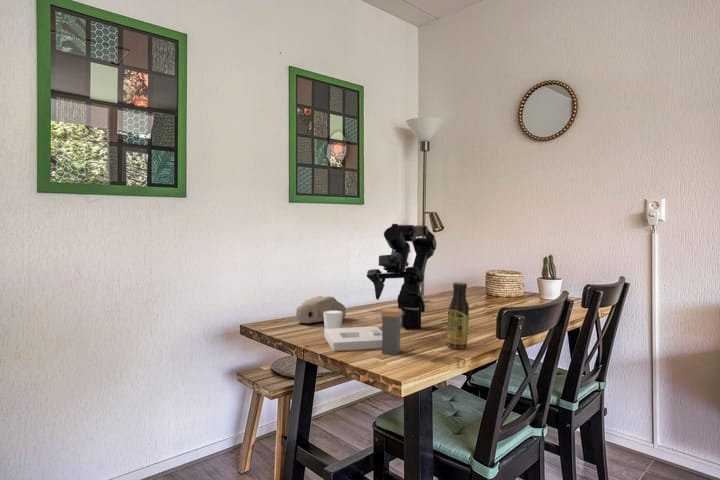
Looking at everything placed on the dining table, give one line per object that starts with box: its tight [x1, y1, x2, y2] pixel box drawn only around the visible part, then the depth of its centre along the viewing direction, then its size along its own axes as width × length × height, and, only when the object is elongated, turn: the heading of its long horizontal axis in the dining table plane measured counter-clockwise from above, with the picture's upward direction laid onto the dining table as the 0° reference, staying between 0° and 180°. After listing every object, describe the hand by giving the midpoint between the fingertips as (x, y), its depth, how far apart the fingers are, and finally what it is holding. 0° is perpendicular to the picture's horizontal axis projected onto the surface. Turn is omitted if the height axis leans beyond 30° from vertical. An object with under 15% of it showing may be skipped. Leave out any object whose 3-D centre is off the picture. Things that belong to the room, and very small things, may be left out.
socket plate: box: [323, 326, 382, 352], centre depth 144 cm, size 18×18×3 cm
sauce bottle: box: [446, 281, 470, 350], centre depth 138 cm, size 7×6×20 cm
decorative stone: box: [295, 295, 347, 324], centre depth 173 cm, size 20×8×10 cm, turn 123°
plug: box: [380, 307, 402, 356], centre depth 133 cm, size 5×5×12 cm
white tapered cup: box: [323, 310, 343, 329], centre depth 158 cm, size 7×7×7 cm
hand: (389, 299), depth 143 cm, fingers open, 9 cm apart
